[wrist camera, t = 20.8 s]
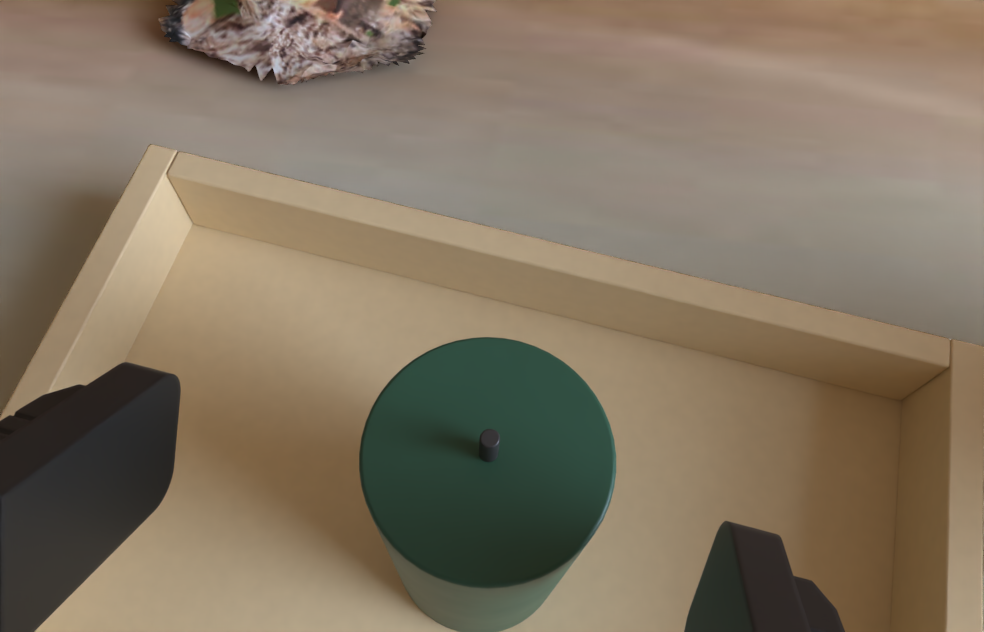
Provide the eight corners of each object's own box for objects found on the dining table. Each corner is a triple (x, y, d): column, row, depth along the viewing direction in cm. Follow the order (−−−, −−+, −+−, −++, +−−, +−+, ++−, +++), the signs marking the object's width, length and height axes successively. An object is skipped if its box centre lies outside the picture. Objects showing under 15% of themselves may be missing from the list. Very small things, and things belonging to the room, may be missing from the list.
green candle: (374, 607, 19) (312, 535, 11) (423, 446, 21) (400, 287, 13) (540, 655, 19) (595, 615, 11) (577, 488, 21) (649, 350, 13)
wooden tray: (-82, 742, 19) (-185, 749, 16) (186, 210, 25) (149, 142, 22) (889, 1047, 17) (981, 1121, 14) (917, 393, 23) (985, 345, 20)
